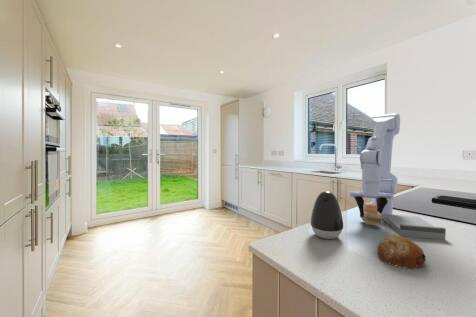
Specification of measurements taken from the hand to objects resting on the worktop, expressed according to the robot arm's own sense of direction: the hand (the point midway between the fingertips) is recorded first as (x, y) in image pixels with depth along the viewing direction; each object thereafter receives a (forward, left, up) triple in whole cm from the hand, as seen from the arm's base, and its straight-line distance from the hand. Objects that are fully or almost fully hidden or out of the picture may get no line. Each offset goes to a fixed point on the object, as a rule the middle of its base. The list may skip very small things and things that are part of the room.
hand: (370, 216), depth 84 cm
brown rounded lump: (+27, 0, -4) cm, 27 cm away
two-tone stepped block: (0, 0, -2) cm, 2 cm away
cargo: (0, 0, +2) cm, 2 cm away
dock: (0, +13, -3) cm, 13 cm away
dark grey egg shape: (+16, -17, -3) cm, 24 cm away
